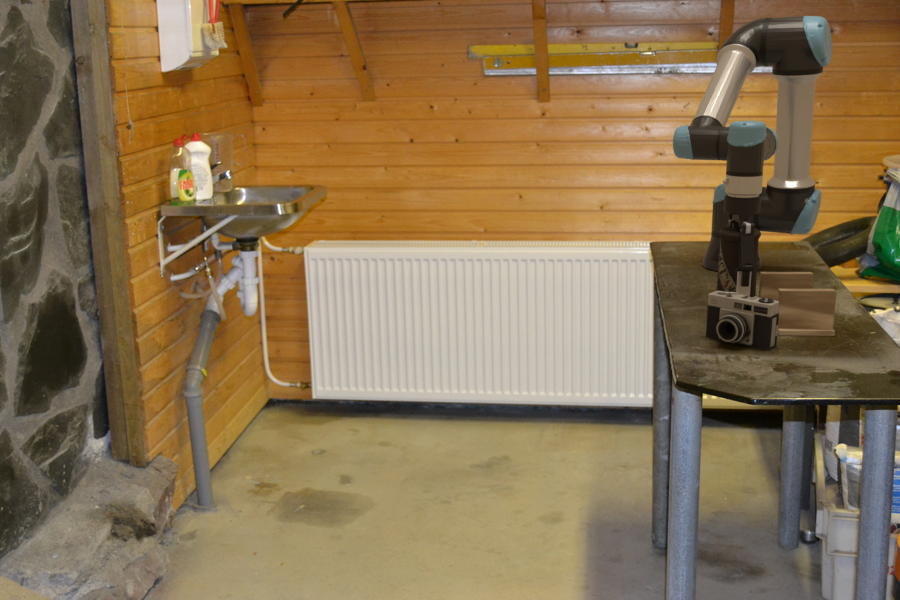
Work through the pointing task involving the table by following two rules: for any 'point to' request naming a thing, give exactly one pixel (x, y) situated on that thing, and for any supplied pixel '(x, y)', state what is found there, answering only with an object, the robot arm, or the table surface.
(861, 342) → the table surface
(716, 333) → the camera
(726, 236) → the container
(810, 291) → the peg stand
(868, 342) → the table surface
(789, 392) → the table surface
